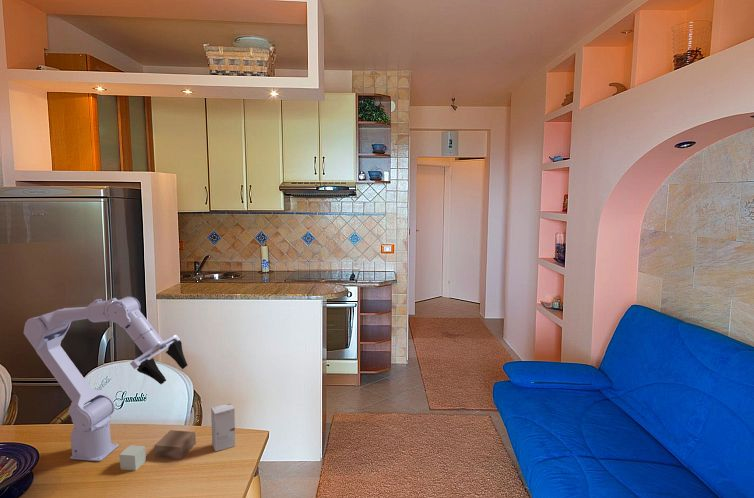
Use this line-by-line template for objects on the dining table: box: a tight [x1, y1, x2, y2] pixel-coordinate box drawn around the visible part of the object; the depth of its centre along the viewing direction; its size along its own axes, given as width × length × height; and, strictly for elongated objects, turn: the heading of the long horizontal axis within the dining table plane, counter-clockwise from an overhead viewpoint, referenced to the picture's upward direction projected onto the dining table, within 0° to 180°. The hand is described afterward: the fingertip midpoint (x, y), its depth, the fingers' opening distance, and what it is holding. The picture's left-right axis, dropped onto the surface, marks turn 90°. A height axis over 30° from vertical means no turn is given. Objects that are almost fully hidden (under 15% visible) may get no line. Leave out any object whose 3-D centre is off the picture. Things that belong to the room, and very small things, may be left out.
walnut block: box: [154, 429, 197, 460], centre depth 131 cm, size 8×8×4 cm
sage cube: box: [119, 444, 147, 471], centre depth 124 cm, size 4×4×4 cm
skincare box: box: [210, 402, 236, 452], centre depth 133 cm, size 6×4×12 cm
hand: (174, 374), depth 122 cm, fingers open, 7 cm apart
